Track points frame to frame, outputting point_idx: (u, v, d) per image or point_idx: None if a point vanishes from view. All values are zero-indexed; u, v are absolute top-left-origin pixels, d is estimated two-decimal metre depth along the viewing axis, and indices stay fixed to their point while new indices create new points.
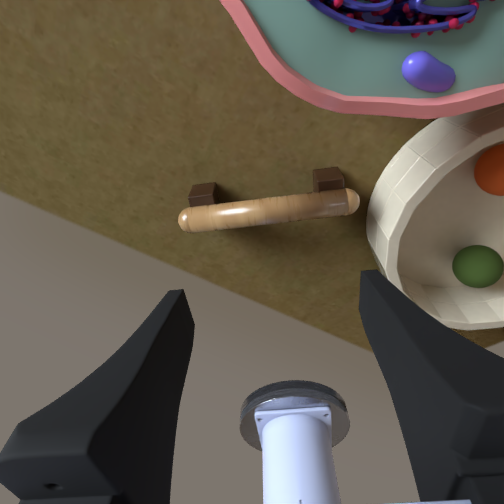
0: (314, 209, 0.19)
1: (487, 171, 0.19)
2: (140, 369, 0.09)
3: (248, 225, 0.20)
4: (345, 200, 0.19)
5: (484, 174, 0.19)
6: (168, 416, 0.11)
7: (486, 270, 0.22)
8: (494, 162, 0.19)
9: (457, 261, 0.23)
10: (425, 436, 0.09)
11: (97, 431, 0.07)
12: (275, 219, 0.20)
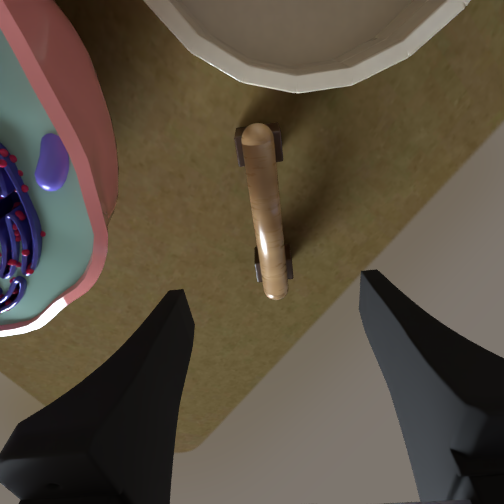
0: (259, 183, 0.17)
1: None
2: (140, 369, 0.09)
3: (279, 246, 0.19)
4: (248, 148, 0.16)
5: None
6: (168, 416, 0.11)
7: None
8: None
9: None
10: (425, 436, 0.09)
11: (97, 431, 0.07)
12: (271, 222, 0.18)
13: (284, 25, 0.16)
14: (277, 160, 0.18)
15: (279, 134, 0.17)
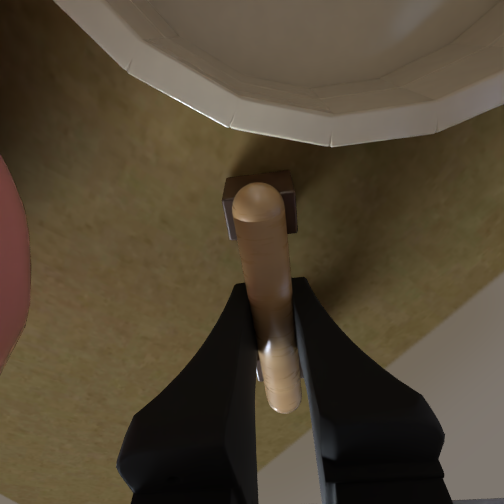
0: (262, 275, 0.11)
1: None
2: (238, 361, 0.09)
3: (290, 353, 0.13)
4: (244, 225, 0.10)
5: None
6: (251, 411, 0.11)
7: None
8: None
9: None
10: (317, 443, 0.09)
11: (226, 422, 0.07)
12: (280, 325, 0.12)
13: (303, 22, 0.09)
14: (289, 232, 0.12)
15: (293, 195, 0.11)
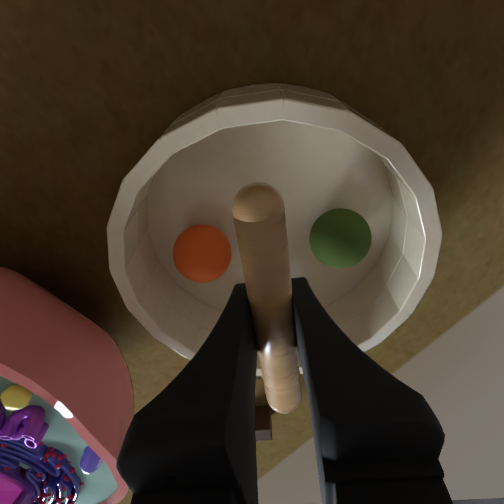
0: (261, 275, 0.11)
1: None
2: (237, 361, 0.09)
3: (289, 353, 0.13)
4: (243, 225, 0.10)
5: None
6: (251, 411, 0.11)
7: (331, 258, 0.16)
8: None
9: None
10: (317, 443, 0.09)
11: (226, 422, 0.07)
12: (279, 325, 0.12)
13: None
14: None
15: None
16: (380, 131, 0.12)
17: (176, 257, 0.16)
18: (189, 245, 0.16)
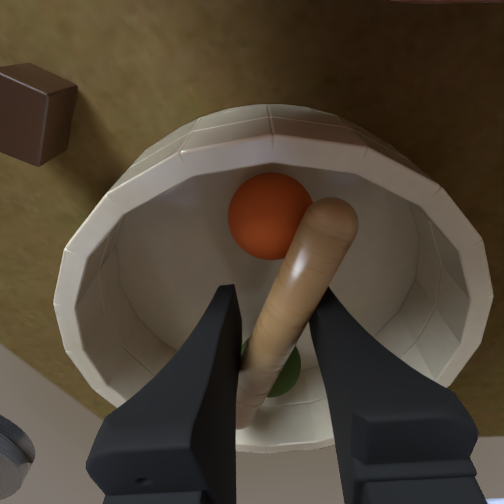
0: (303, 290, 0.10)
1: None
2: (213, 363, 0.09)
3: (277, 373, 0.12)
4: (317, 236, 0.09)
5: None
6: (230, 412, 0.11)
7: (298, 372, 0.15)
8: None
9: None
10: (341, 441, 0.09)
11: (194, 424, 0.07)
12: (287, 343, 0.11)
13: (172, 217, 0.13)
14: None
15: (33, 163, 0.11)
16: None
17: (272, 195, 0.10)
18: (266, 228, 0.10)
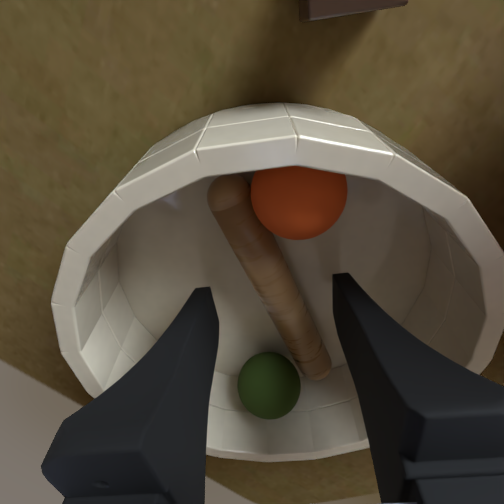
0: (270, 241, 0.12)
1: None
2: (178, 366, 0.09)
3: (305, 305, 0.14)
4: (244, 204, 0.11)
5: (345, 200, 0.10)
6: (201, 414, 0.11)
7: None
8: (344, 175, 0.10)
9: None
10: (382, 439, 0.09)
11: (147, 428, 0.07)
12: (293, 281, 0.13)
13: None
14: None
15: (311, 12, 0.08)
16: None
17: None
18: None
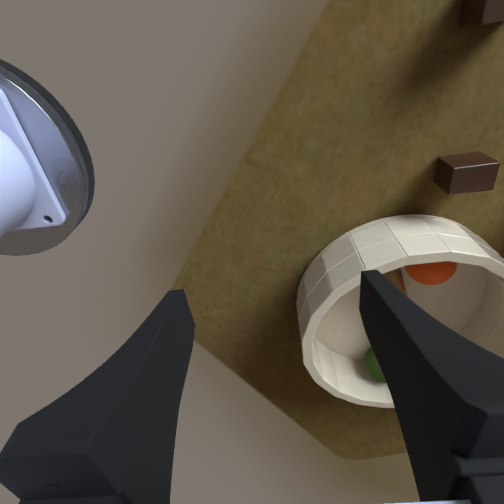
0: (402, 285, 0.23)
1: None
2: (140, 369, 0.09)
3: None
4: None
5: None
6: (168, 416, 0.11)
7: (369, 348, 0.27)
8: None
9: None
10: (425, 436, 0.09)
11: (97, 431, 0.07)
12: None
13: None
14: (459, 169, 0.18)
15: (450, 192, 0.19)
16: (344, 399, 0.25)
17: None
18: None
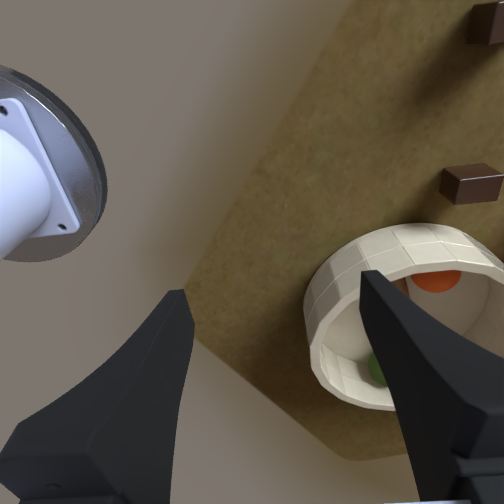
0: (406, 293, 0.23)
1: None
2: (140, 369, 0.09)
3: None
4: None
5: None
6: (168, 416, 0.11)
7: None
8: None
9: None
10: (425, 436, 0.09)
11: (97, 431, 0.07)
12: None
13: None
14: (465, 180, 0.19)
15: (456, 203, 0.19)
16: (350, 402, 0.26)
17: None
18: None
